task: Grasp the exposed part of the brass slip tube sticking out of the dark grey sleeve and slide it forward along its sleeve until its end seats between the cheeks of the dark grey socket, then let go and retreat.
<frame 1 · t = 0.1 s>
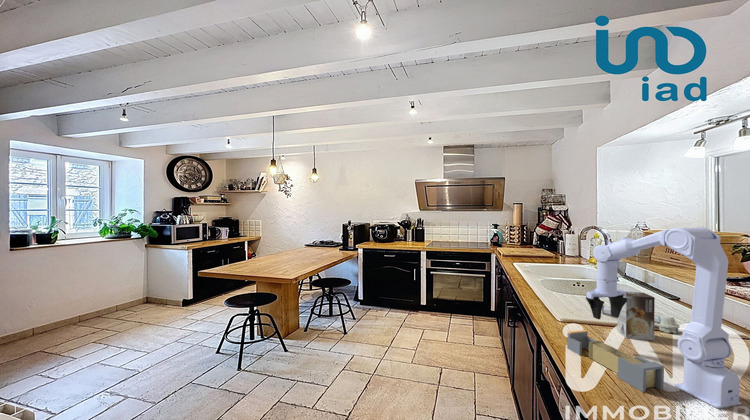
hand: (605, 317, 108), 10 cm above the table, tool pointing down, fingers open, 7 cm apart
coffee box: (634, 336, 117), on the table
slip tube: (619, 362, 92), point 3 cm above the table, slide at 0.0 cm
socket: (582, 350, 105), on the table
sleeve: (639, 383, 86), on the table
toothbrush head: (637, 324, 129), on the table
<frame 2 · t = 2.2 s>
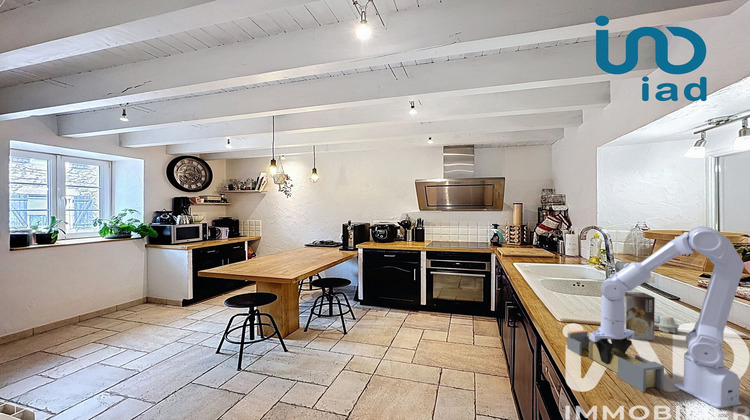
hand: (611, 361, 95), 2 cm above the table, tool pointing down, fingers closed on slip tube, 4 cm apart
slip tube: (619, 362, 92), point 3 cm above the table, slide at 0.0 cm, touching gripper
everything else where it was.
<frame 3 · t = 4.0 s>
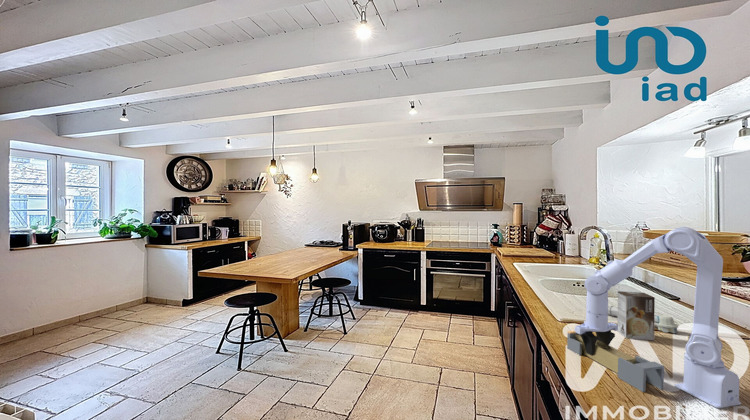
hand: (595, 353, 100), 2 cm above the table, tool pointing down, fingers closed on slip tube, 4 cm apart
slip tube: (603, 353, 97), point 3 cm above the table, slide at 5.2 cm, touching gripper
everything else where it was.
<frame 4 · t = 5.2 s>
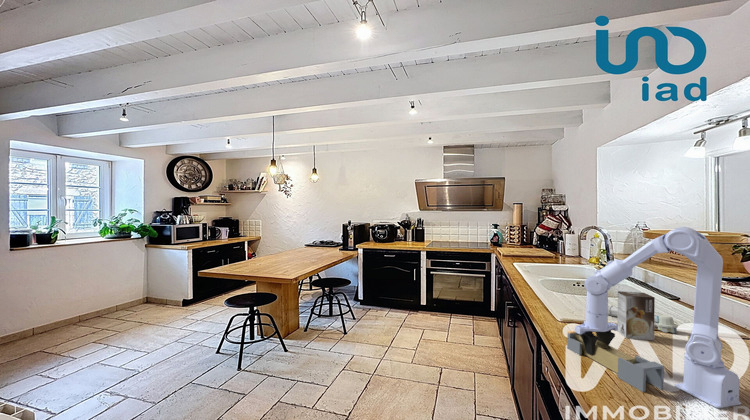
hand: (595, 353, 100), 2 cm above the table, tool pointing down, fingers closed on slip tube, 4 cm apart
slip tube: (603, 353, 97), point 3 cm above the table, slide at 5.2 cm, touching gripper
everything else where it was.
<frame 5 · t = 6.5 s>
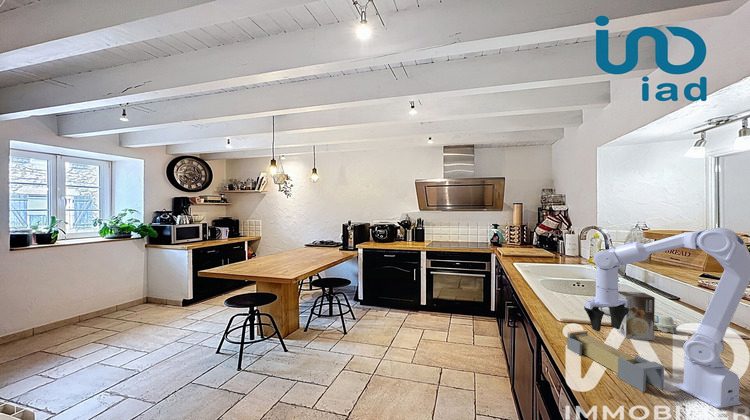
hand: (605, 329, 99), 10 cm above the table, tool pointing down, fingers open, 7 cm apart
slip tube: (603, 353, 97), point 3 cm above the table, slide at 5.2 cm
everything else where it was.
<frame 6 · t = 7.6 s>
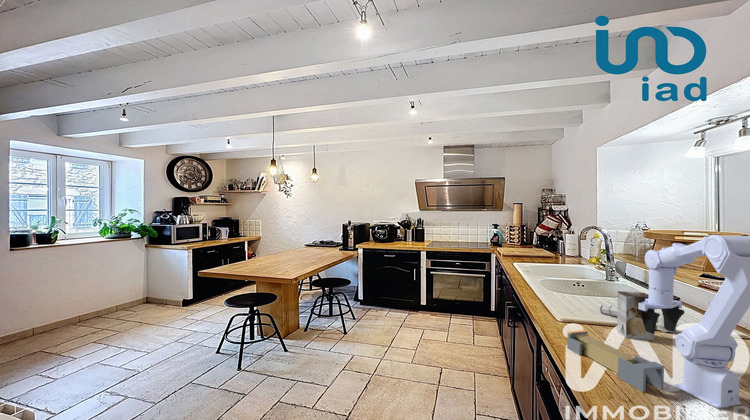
hand: (659, 331, 97), 10 cm above the table, tool pointing down, fingers open, 7 cm apart
nothing on the table moved.
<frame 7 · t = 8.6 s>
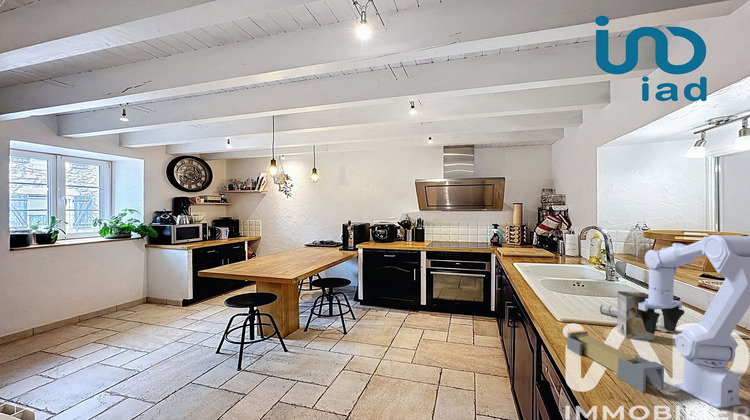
hand: (659, 331, 97), 10 cm above the table, tool pointing down, fingers open, 7 cm apart
nothing on the table moved.
at the end: slip tube slide at 5.2 cm; the gripper is holding nothing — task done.
